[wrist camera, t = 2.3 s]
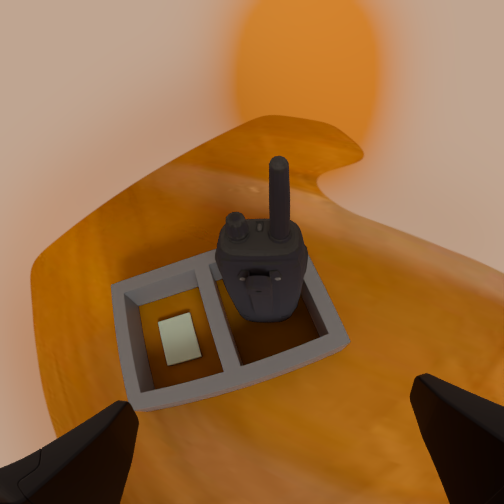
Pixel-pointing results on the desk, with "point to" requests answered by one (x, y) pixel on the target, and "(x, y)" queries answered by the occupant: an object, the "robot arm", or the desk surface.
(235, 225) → the two-way radio
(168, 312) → the desk surface
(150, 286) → the charging station
